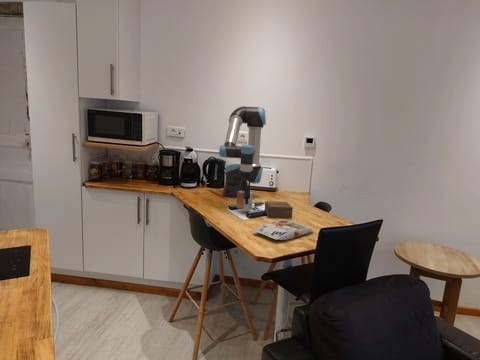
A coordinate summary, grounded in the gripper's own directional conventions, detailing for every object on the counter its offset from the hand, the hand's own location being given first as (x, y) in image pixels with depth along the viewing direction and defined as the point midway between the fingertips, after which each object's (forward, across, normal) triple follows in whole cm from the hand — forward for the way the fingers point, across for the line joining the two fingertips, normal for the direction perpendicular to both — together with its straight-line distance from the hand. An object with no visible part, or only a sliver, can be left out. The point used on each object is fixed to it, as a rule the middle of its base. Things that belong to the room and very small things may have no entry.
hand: (244, 206), depth 221 cm
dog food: (+3, +40, +12) cm, 42 cm away
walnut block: (+4, +6, +20) cm, 21 cm away
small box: (+1, 0, 0) cm, 1 cm away
